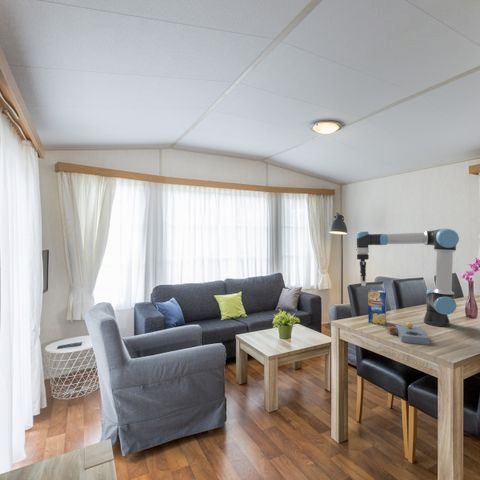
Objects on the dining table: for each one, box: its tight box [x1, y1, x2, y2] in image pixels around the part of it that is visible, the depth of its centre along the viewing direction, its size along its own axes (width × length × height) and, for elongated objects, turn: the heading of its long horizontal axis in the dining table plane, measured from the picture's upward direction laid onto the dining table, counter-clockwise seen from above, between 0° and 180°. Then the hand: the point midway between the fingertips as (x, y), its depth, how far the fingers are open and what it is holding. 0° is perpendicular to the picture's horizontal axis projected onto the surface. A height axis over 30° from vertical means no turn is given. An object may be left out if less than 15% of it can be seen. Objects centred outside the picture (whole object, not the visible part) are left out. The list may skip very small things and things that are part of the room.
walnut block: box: [386, 325, 398, 336], centre depth 188 cm, size 4×4×4 cm
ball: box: [405, 322, 414, 328], centre depth 186 cm, size 4×4×4 cm
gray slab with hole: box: [394, 324, 431, 345], centre depth 181 cm, size 22×14×4 cm, turn 161°
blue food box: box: [367, 289, 387, 325], centre depth 212 cm, size 7×11×22 cm, turn 61°
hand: (363, 284), depth 210 cm, fingers open, 13 cm apart
